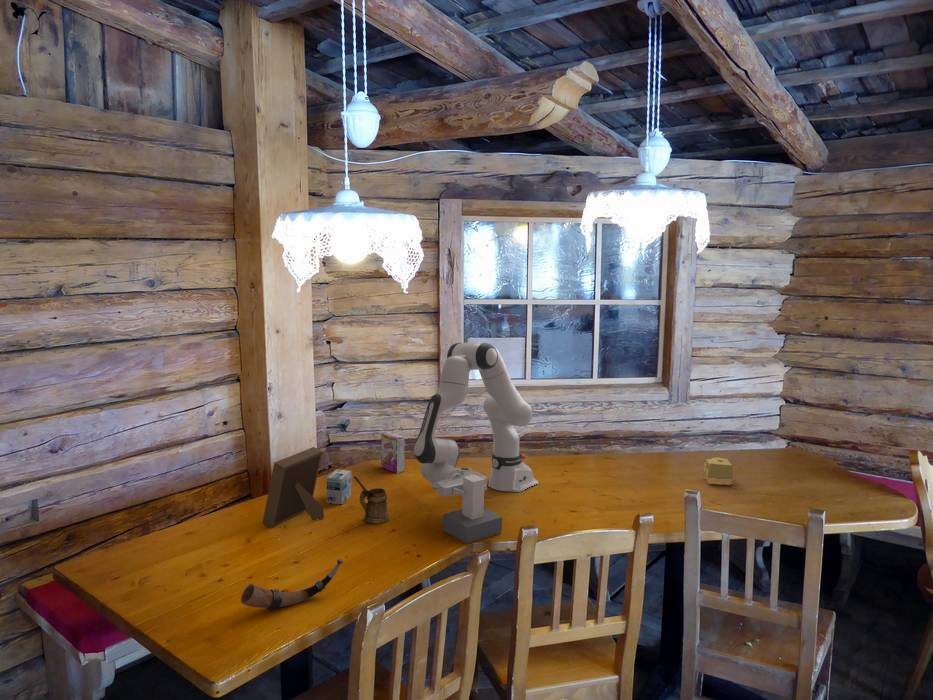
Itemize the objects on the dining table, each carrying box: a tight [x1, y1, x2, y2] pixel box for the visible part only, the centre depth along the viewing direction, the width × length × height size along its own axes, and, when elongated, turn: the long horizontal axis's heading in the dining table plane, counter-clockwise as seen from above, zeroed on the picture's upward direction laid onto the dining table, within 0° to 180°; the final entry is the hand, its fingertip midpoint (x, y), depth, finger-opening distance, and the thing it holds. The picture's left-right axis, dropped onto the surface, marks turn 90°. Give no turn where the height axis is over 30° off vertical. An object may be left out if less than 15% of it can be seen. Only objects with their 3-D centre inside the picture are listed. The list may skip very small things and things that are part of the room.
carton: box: [461, 475, 485, 520], centre depth 250 cm, size 5×6×14 cm
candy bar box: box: [380, 431, 406, 474], centre depth 314 cm, size 11×5×16 cm, turn 46°
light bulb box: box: [326, 468, 352, 505], centre depth 277 cm, size 11×7×11 cm, turn 168°
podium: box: [442, 507, 503, 545], centre depth 251 cm, size 16×14×6 cm
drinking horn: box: [240, 558, 344, 610], centre depth 199 cm, size 6×30×10 cm, turn 125°
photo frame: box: [261, 446, 325, 530], centre depth 255 cm, size 15×22×25 cm
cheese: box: [702, 457, 734, 480], centre depth 312 cm, size 10×11×10 cm
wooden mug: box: [353, 475, 390, 525], centre depth 258 cm, size 9×14×18 cm, turn 115°
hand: (474, 491), depth 249 cm, fingers open, 8 cm apart
